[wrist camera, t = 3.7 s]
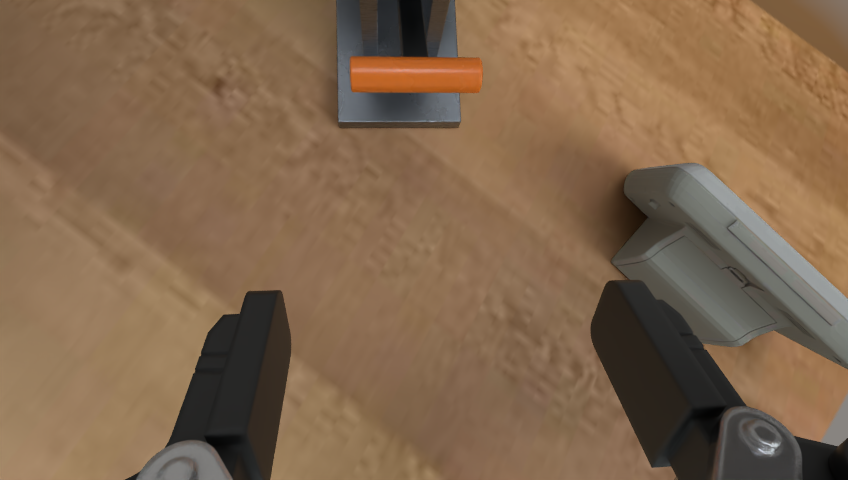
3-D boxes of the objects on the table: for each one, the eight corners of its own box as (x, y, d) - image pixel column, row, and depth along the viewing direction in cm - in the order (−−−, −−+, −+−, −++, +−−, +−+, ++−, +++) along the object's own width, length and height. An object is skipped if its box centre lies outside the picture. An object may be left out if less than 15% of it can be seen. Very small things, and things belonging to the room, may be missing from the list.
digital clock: (786, 319, 36) (952, 325, 26) (701, 389, 35) (839, 426, 24) (660, 149, 37) (770, 87, 27) (572, 211, 36) (651, 172, 25)
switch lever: (477, 108, 21) (486, 62, 19) (352, 108, 20) (348, 60, 18) (449, -35, 27) (454, -81, 25) (354, -38, 27) (351, -85, 25)
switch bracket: (458, 127, 36) (500, 31, 23) (339, 128, 35) (315, 28, 22) (451, -5, 37) (487, -163, 25) (337, -8, 37) (314, -173, 24)
